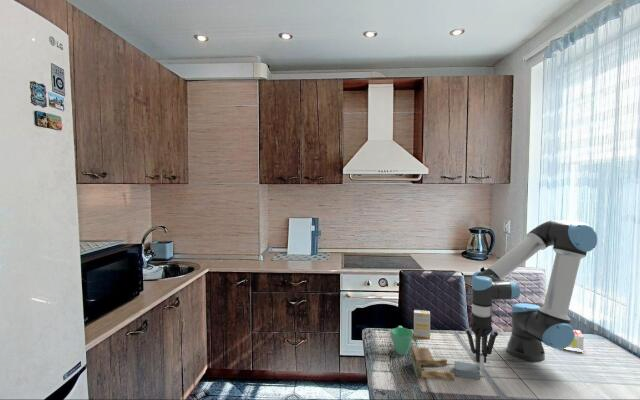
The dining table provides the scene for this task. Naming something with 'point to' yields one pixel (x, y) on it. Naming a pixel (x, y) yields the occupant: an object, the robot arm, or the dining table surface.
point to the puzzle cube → (577, 340)
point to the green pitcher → (402, 339)
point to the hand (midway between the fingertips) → (480, 369)
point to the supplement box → (422, 324)
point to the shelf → (428, 364)
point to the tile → (467, 370)
